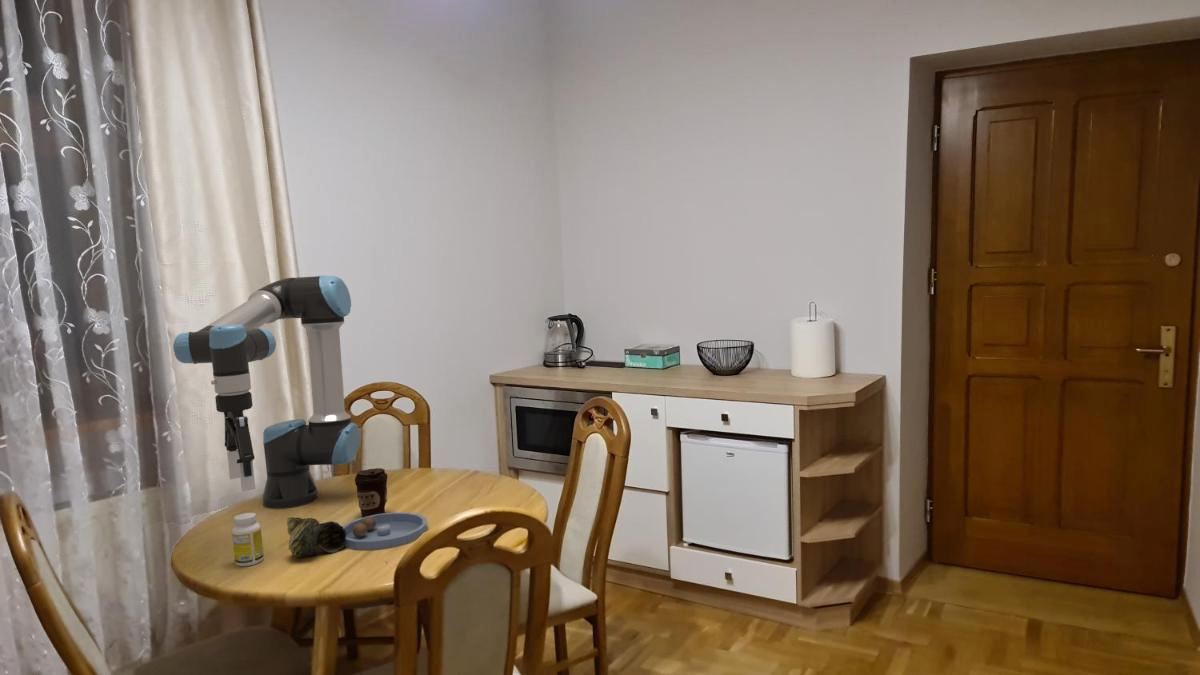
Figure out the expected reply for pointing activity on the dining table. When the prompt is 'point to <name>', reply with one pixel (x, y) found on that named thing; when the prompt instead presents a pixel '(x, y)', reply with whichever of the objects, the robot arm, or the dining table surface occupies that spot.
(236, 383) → the robot arm
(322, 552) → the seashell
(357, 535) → the walnut bead
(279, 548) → the dining table surface
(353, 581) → the dining table surface
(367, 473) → the coffee cup
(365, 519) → the walnut bead
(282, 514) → the dining table surface
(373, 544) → the ring tray
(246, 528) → the pill bottle
